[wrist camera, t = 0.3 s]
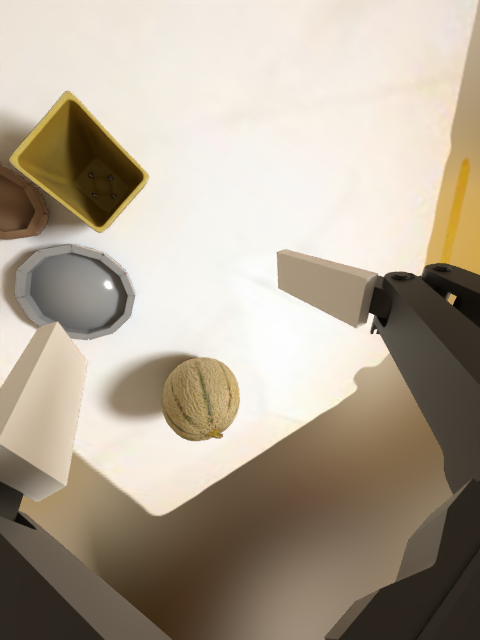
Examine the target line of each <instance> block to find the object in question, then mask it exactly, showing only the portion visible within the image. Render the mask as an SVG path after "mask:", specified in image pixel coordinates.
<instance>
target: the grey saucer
mask: <svg viewBox="0 0 480 640" xmlns="http://www.w3.org/2000/svg"><path fill="white" fill-rule="evenodd" d="M15 296H17V297H16V298H15V299H16V300H17V302H18V303H19V304H20V306H21V307H22V309H23V310H24V312H25V313H26V315H27V316H28V318H29V319H30V321H32V320H34V321H33V323H35V324H36V325H38V326H40V327H41V326H44V325H48V324H51V323H54V322H57V321H58V323H59V324H60V325H61V327H62V328H63V329H64V330H65V332H66V333H67V334H68V336H69V337H70V338H74V339H82V340H88V339H89V340H91V339H95V338H98V337H101V336H105V335H108V334H112V333H113V332H115V331H116V330H118V329H119V328H120V327H121V326H122V325H123V324H124V323H125V322H126V321H127V320H128V319H129V318H130V316H131V313H132V308H133V303H134V299H135V291H134V288H133V285H132V282H131V280H130V278H129V276H128V273H127V272H126V270H125V269H124V268H122V266H121V265H120V264H118V263H117V262H116V261H115V260H114V259H112V258H111V257H109V256H108V255H107V254H104V252H101V251H98V250H95V249H92V248H88V247H84V246H80V245H76V244H70V245H64V246H58V247H52V248H46V249H40V250H37V251H36V252H35V253H34V254H33V255H32V256H31V257H29V258H28V259H27V260H26V261H25V262H24V263H23V264H22V265H21V266H20V267H19V268H18V270H17V271H16V281H15Z"/></svg>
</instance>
